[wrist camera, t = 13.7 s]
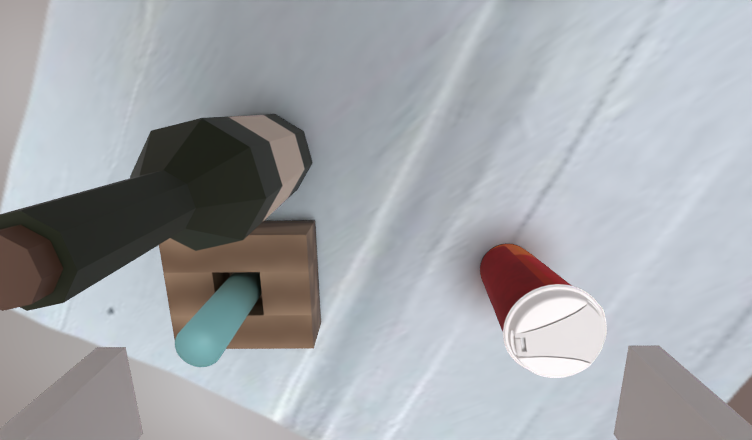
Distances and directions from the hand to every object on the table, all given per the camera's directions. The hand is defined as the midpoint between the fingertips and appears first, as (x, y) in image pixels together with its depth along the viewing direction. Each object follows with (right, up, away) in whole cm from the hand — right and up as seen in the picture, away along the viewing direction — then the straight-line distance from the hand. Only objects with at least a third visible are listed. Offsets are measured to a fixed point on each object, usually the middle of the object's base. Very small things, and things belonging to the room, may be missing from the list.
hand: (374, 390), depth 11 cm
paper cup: (+14, -1, +33) cm, 36 cm away
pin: (-13, -2, +33) cm, 35 cm away
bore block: (-13, -1, +34) cm, 36 cm away
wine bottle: (-10, +11, +30) cm, 34 cm away
